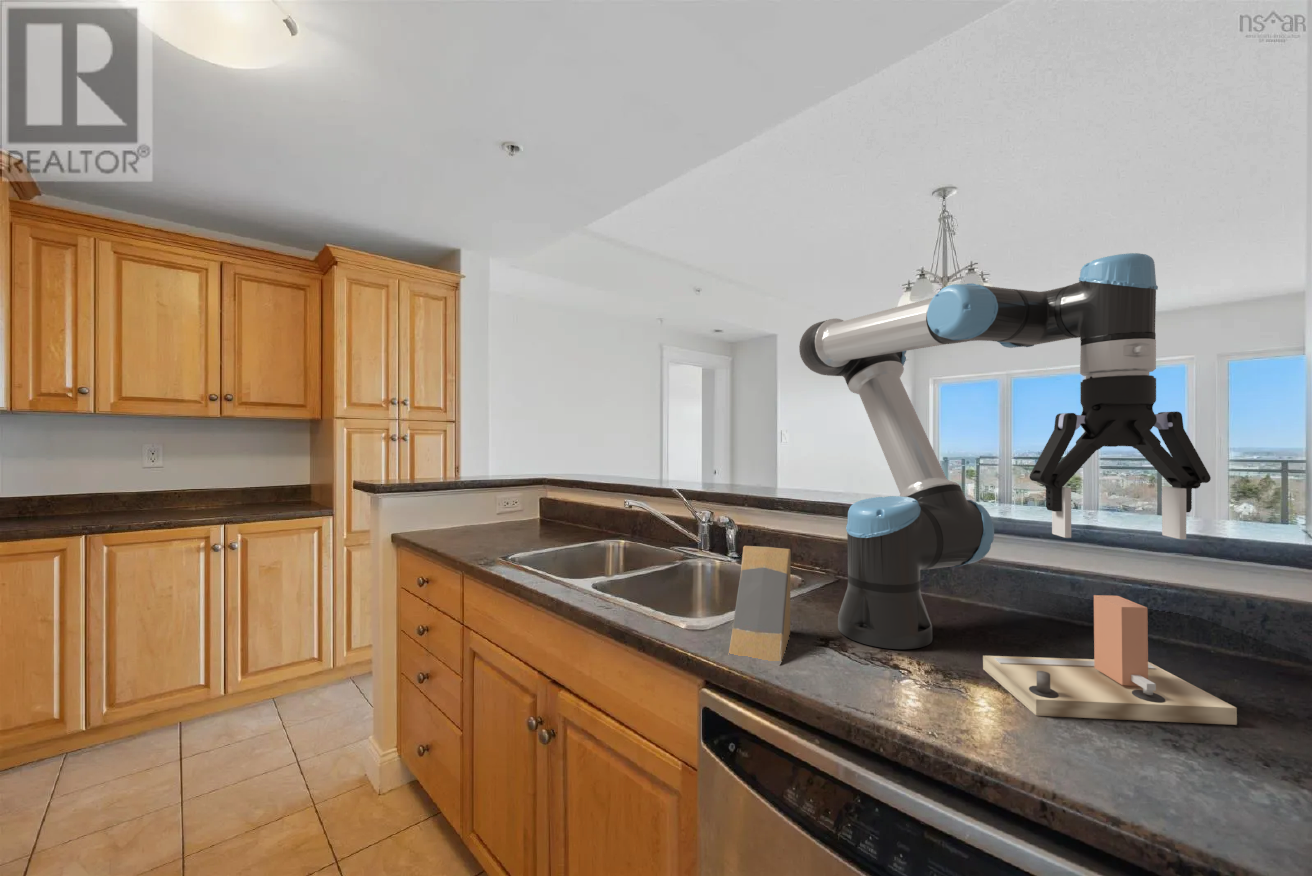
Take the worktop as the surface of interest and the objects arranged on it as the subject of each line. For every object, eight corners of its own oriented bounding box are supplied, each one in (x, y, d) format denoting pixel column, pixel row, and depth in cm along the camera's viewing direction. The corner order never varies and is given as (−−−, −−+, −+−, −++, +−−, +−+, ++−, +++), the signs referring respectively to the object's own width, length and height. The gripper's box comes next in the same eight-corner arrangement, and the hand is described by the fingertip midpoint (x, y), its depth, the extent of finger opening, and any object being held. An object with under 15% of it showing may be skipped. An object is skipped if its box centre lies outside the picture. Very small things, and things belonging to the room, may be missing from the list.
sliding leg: (1137, 694, 65) (1137, 613, 65) (1094, 668, 72) (1093, 595, 72) (1164, 695, 64) (1164, 614, 64) (1118, 668, 72) (1117, 595, 72)
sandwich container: (725, 660, 82) (724, 564, 82) (743, 626, 96) (742, 545, 96) (781, 668, 79) (780, 568, 79) (791, 632, 94) (790, 548, 94)
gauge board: (1036, 715, 65) (1035, 679, 65) (983, 669, 78) (982, 639, 78) (1236, 724, 62) (1236, 687, 62) (1147, 675, 75) (1147, 644, 75)
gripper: (1032, 375, 67) (1032, 540, 67) (1251, 370, 64) (1251, 543, 64) (1000, 380, 75) (1001, 530, 75) (1196, 376, 72) (1196, 532, 72)
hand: (1117, 536), depth 70 cm, fingers open, 13 cm apart
